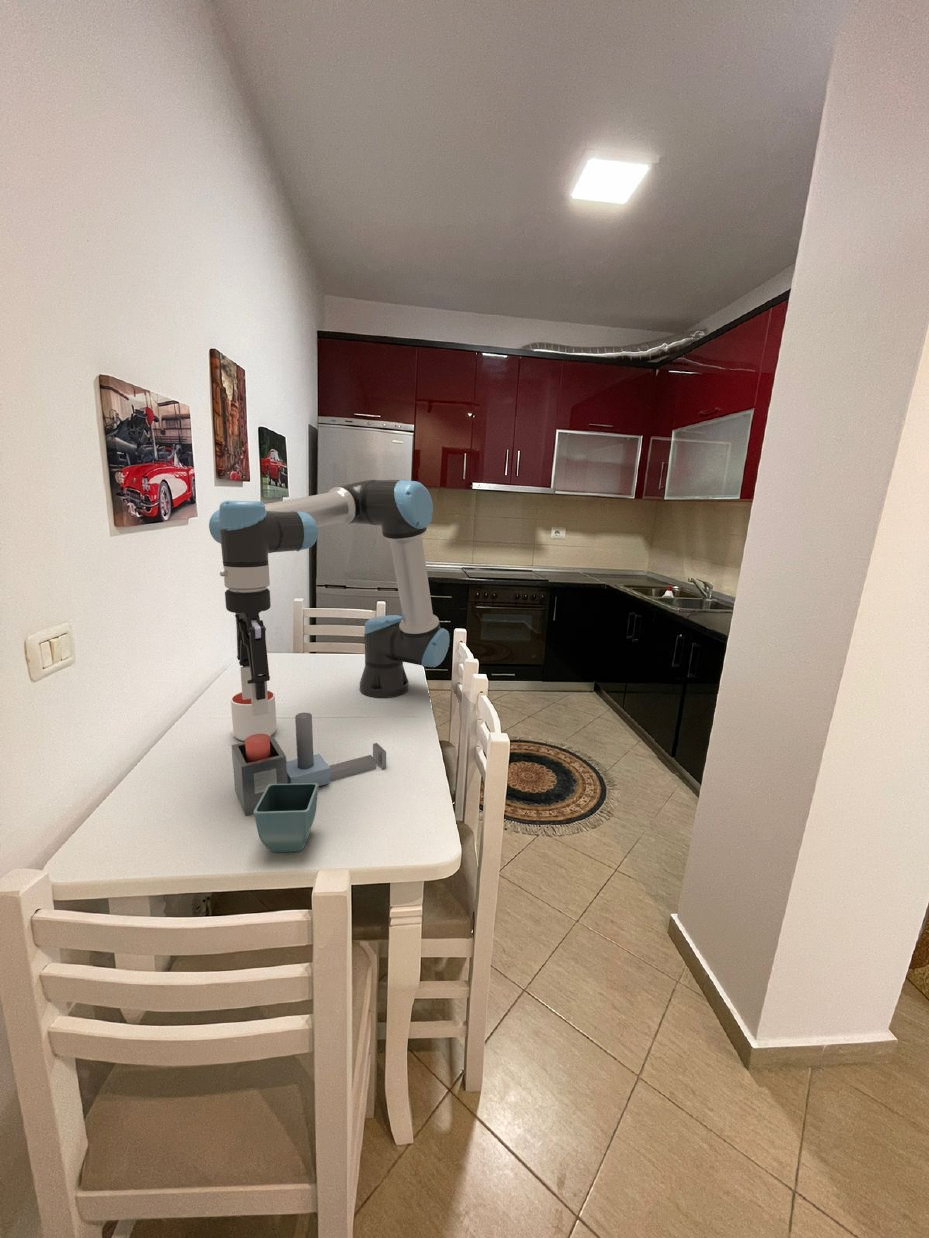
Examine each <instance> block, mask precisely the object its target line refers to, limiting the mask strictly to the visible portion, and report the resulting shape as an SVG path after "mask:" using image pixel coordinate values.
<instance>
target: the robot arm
mask: <svg viewBox="0 0 929 1238" xmlns="http://www.w3.org/2000/svg"><path fill="white" fill-rule="evenodd" d="M433 514H434V505H433V498H432V496H431V494H430V492H429V491H428V488H427V487H425V486H424V485H423V484H422V483H421V482H419V481H415V480H408V479H366V480H361V481H358V482H352V483H349V484H345V485H344V484H343V485H340V486H335V487H332V488H331V489H329V490H328V491H327V492H324V493H320V494H315V495H314V494H313V495H308V496H303V497H297V498H296V497H295V498H292V499H287V500H282V501H281V500H280V501H275V502H270V503H263V502H262V501H259V500H258V501H257V500H256V501H254V500H224V501H222V502H221V503H220V504H219V509H218V510H216V511H214V512H213V513H212V515H211V516H210V518H209V521H208V522H209V523H208V529H209V534H210V536H211V537H212V538H213V540H214V541H216V543H218V544H220V546H221V556H222V565H223V569H224V570H221V571H219V576H220V577H223V581H224V587H225V588H226V590H225V591H224V601H225V609H226V611H228V612H230V613H234V617H235V623H236V643H237V644H236V647H237V648H236V650H237V651H236V652H237V656H236V658H237V660H238V661H239V662H238V664H239V666H240V668H239V670H240V671H239V672H240V683H241V692H242V699H243V700H245V699H251V703H252V715H253V716H259V715H264V714H269V710H268V693H267V690H268V682H269V681H270V680H271V676H270V670H269V668H270V667H269V660H268V651H267V649H268V648H267V641H266V638H267V637H266V631H267V629H266V625H264V621H263V620H262V619H261V618H260V613H261V612H265V611H268V610H269V609H270V608H271V605H272V604H271V591H270V589H269V588H268V587H270V585H271V584H270V583H271V582H270V581H271V580H270V567H269V565H270V564H269V554H273V553H282V552H294V551H296V552H300V551H302V550H307V549H310V548H312V547H313V546H314V545H315V543H316V542H317V541H318V540H317V539H318V536H319V534H318V533H319V532H318V531H319V530H318V528H322V527H325V526H329V525H333V524H338V526H339V525H341V526H346V525H348V524H349V525H350V524H357V525H360V524H361V525H371V526H380V527H381V532H382V537H383V538H384V539H386V540H387V541H389V545H390V550H391V555H392V563H393V566H394V574H395V579H396V584H397V591H398V595H399V596H398V597H399V603H400V608H401V614H402V615H398V614H390V615H389V614H388V615H381V616H376V617H372V618H369V619H368V620H367V621H365V623H364V633H363V635H364V668H363V672H362V674H361V677H360V680H359V691H360V693H361V694H362V695H365V696H366V697H371V698H372V697H373V698H382V699H383V698H392V697H398V696H401V695H403V694H405V693H407V691H408V690H409V680H408V676H407V673H406V671H405V667H404V663H408V664H413V665H416V666H417V665H418V666H422V667H428V668H436V667H437V666H439V665H441V663H442V662H443V661H444V660H445V658H446V655H447V653H448V650H449V647H450V641H451V640H450V638H451V637H450V633H449V631H448V630H447V629H445V628H443V627H441V624H440V620H439V617H438V616H437V615H435V614H434V613H433V612H434V611H433V606H432V598H431V592H430V584H429V577H428V571H427V564H426V556H425V549H424V548H425V547H424V541H423V536H425V534H426V532H427V529H428V528H427V527H429V526H430V524H431V522H432V520H433Z"/></svg>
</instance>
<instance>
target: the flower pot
mask: <svg viewBox="0 0 929 1238" xmlns="http://www.w3.org/2000/svg"><path fill="white" fill-rule="evenodd" d="M318 792H319V786H318V783H296V784H295V783H294V784H269V785H268V786H267V787H266V789H265V791H264V793H263V795H262V797H261V799H260V800H259V802H258V804H257V806H256V808H255V809H254V812H253V813H252V814H253V817H254V821H255V826H256V829H257V834H258V837H259V840H260V841H261V843H262V845H264V846H265V848H266V849H268V850H269V851H270V852H271V853H284V852H285V853H286V852H290V853H291V852H301V851H302V850H303V849H304V848H305V846H306V843H307V840H308V837H309V835H310V831H311V828H312V826H313V823H314V820H315V818H316V817H315V816H316V812H317V805H318V794H319V793H318Z"/></svg>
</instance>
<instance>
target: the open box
mask: <svg viewBox="0 0 929 1238" xmlns="http://www.w3.org/2000/svg"><path fill="white" fill-rule="evenodd" d="M230 746H231V758H232V759H231V760H232V769H233V770H232V771H233V772H232V773H233V783H234V791H235V794H236V796H237V799H238V802H239V804H240V806H241V809H242V812H243V813H244V816H249V815H252V814H254V813H253V812H254V809H255V808H256V806H257V804H258V802H259V800H260V799H261V797H262V795H263V793H264V791H265V789H266V787H267V786H268V785H269V784H288V782H287V763H286V762H287V755H286V754H285V752H284V751H283V749H282V747H281V746H280V744H279V742H278V741H277V740H276V738H275V736H274V735H271V736H270V753H271V758H267V759H262V760H258V761H254V762H250V763H247V760H246V746H245V741H243V742H239V743H233V744H231V745H230Z"/></svg>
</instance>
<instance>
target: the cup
mask: <svg viewBox="0 0 929 1238" xmlns="http://www.w3.org/2000/svg"><path fill="white" fill-rule="evenodd" d="M267 693H268V710H269V714H264V715H259V716H253V715H252V703H251V699H245V700H243V699H242V691H241V692H239V693H236V694H235V695H232V696H231V698H230V708H231V719H232V720H231V721H232V730H233V731H232V733H233V736H234V737H235V738H236V739H237V740H239V741H243V742H245V739H246V738H247V737H249V736H251V735H254V734H267V735H269V737H270V736H274V733H275V732H277V728H278V727H277V713H276V712H277V711H276V710H277V709H276V695H275V693H274V692H273V691H272V690H268V689H267Z"/></svg>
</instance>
